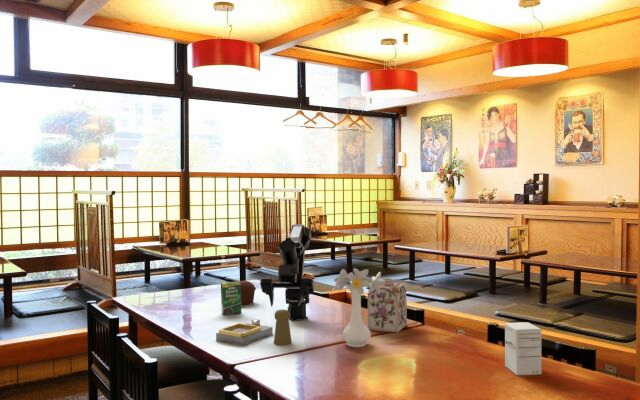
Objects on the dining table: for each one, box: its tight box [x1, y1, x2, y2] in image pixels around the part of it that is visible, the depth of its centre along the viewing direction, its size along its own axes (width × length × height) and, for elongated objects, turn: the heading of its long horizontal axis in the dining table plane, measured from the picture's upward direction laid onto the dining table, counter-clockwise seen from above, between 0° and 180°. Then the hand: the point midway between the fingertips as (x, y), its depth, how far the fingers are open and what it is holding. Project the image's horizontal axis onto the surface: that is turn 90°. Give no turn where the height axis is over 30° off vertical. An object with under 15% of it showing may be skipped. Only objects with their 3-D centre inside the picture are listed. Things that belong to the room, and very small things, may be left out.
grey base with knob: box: [215, 319, 274, 346], centre depth 184 cm, size 16×12×4 cm
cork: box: [273, 309, 292, 346], centre depth 176 cm, size 6×6×11 cm
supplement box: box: [504, 321, 542, 376], centre depth 146 cm, size 7×7×13 cm
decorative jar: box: [367, 277, 408, 333], centre depth 194 cm, size 12×12×18 cm
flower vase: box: [331, 267, 385, 348], centre depth 174 cm, size 13×18×25 cm
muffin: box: [238, 280, 257, 306], centre depth 240 cm, size 12×11×10 cm
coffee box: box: [220, 280, 242, 316], centre depth 220 cm, size 8×3×13 cm, turn 113°
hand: (284, 305), depth 181 cm, fingers open, 9 cm apart
